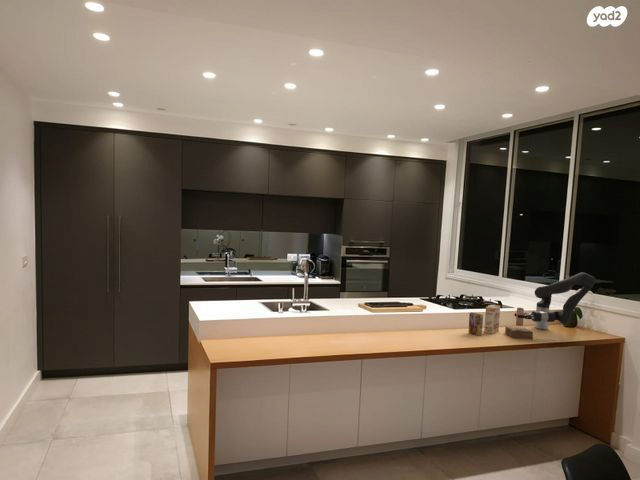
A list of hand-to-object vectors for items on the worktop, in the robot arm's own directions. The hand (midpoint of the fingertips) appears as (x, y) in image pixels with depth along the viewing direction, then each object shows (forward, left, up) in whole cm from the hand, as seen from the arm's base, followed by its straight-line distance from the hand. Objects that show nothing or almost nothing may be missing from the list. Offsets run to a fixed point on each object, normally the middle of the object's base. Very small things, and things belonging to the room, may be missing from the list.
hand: (516, 315), depth 325 cm
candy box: (+1, -29, -15) cm, 33 cm away
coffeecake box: (-10, -13, -15) cm, 23 cm away
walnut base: (0, +3, -15) cm, 15 cm away
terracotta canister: (0, +3, -7) cm, 7 cm away
